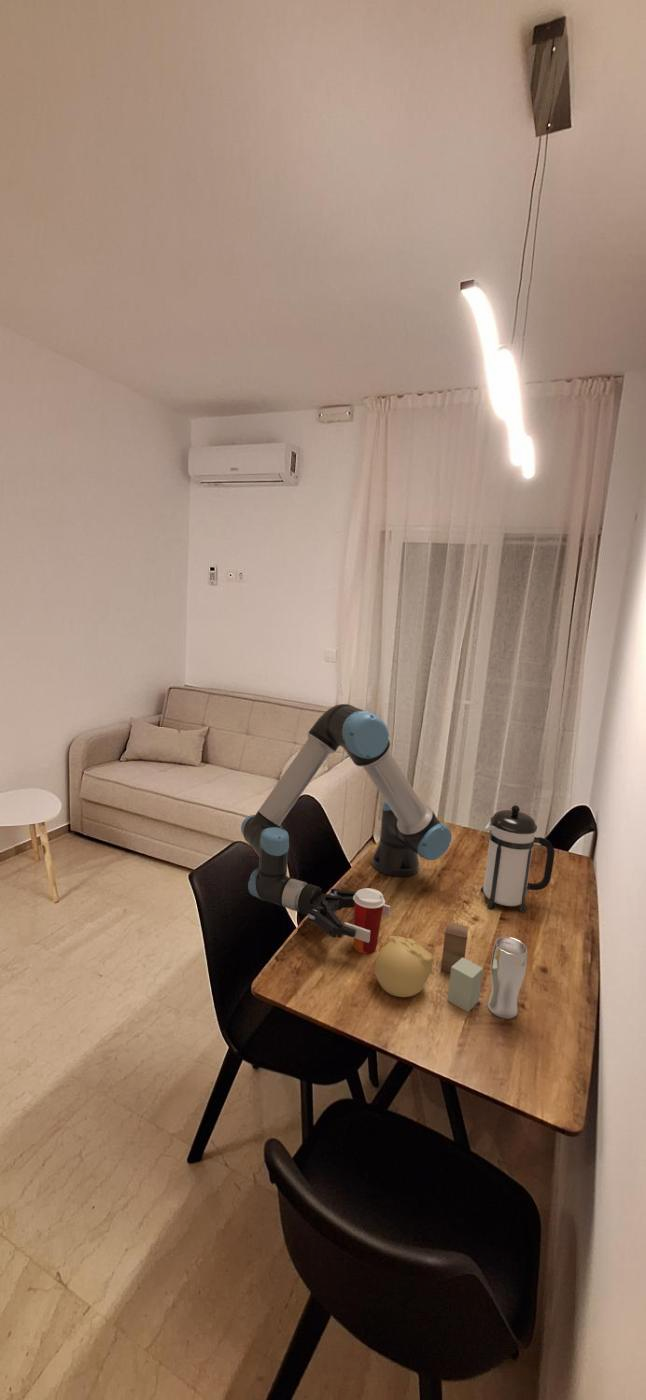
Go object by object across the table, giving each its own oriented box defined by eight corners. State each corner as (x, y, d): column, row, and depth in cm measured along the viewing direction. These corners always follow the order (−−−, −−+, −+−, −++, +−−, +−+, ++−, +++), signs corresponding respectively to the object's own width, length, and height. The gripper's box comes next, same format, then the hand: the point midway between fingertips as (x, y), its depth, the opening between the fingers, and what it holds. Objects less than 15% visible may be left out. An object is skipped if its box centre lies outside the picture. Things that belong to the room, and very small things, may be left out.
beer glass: (524, 1009, 122) (533, 946, 119) (511, 1025, 117) (520, 960, 114) (494, 993, 126) (502, 932, 124) (479, 1008, 121) (488, 944, 119)
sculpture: (437, 988, 126) (442, 944, 125) (404, 1012, 118) (409, 966, 116) (397, 963, 134) (401, 921, 133) (363, 984, 126) (367, 940, 124)
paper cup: (382, 942, 143) (387, 890, 140) (377, 959, 135) (382, 905, 133) (352, 935, 145) (357, 884, 142) (345, 952, 137) (350, 899, 135)
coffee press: (512, 922, 156) (526, 820, 151) (466, 896, 169) (478, 801, 164) (547, 906, 167) (562, 810, 162) (502, 883, 179) (514, 792, 174)
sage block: (458, 989, 127) (462, 957, 125) (478, 1001, 123) (483, 968, 122) (447, 1000, 123) (451, 966, 122) (467, 1012, 120) (472, 978, 118)
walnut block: (442, 959, 137) (446, 921, 136) (463, 964, 136) (468, 926, 134) (440, 971, 133) (445, 932, 131) (462, 977, 131) (467, 937, 129)
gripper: (323, 891, 158) (395, 915, 149) (277, 933, 136) (358, 964, 127) (325, 866, 157) (398, 888, 147) (279, 905, 135) (361, 933, 126)
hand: (380, 923), depth 137 cm, fingers open, 12 cm apart
